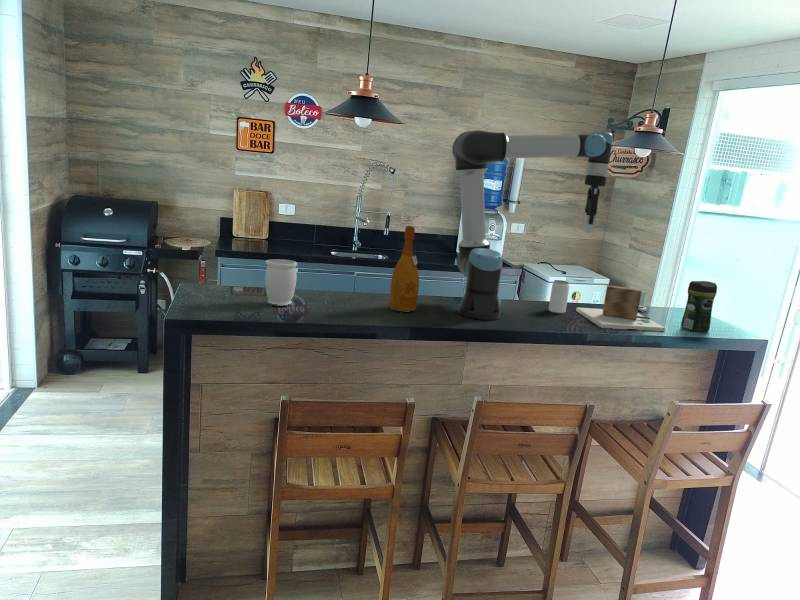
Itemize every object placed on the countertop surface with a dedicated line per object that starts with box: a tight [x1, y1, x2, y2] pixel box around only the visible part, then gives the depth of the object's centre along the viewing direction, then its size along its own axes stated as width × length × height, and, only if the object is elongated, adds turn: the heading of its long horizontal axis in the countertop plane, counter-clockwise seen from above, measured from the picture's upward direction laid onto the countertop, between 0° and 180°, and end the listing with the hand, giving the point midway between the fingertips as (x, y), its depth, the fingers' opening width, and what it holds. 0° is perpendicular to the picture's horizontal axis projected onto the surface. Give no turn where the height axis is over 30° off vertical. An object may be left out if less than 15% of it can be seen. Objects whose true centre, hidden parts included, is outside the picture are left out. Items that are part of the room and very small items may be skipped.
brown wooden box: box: [602, 284, 651, 320], centre depth 223 cm, size 17×3×11 cm, turn 75°
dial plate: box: [575, 306, 666, 332], centre depth 225 cm, size 24×24×2 cm
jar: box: [264, 258, 298, 305], centre depth 203 cm, size 11×10×15 cm
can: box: [548, 279, 570, 314], centre depth 230 cm, size 6×6×12 cm
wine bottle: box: [389, 225, 420, 312], centre depth 209 cm, size 10×10×30 cm
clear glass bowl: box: [638, 290, 648, 312], centre depth 247 cm, size 12×12×8 cm
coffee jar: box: [680, 280, 718, 333], centre depth 220 cm, size 10×8×19 cm
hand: (587, 231), depth 227 cm, fingers open, 13 cm apart
